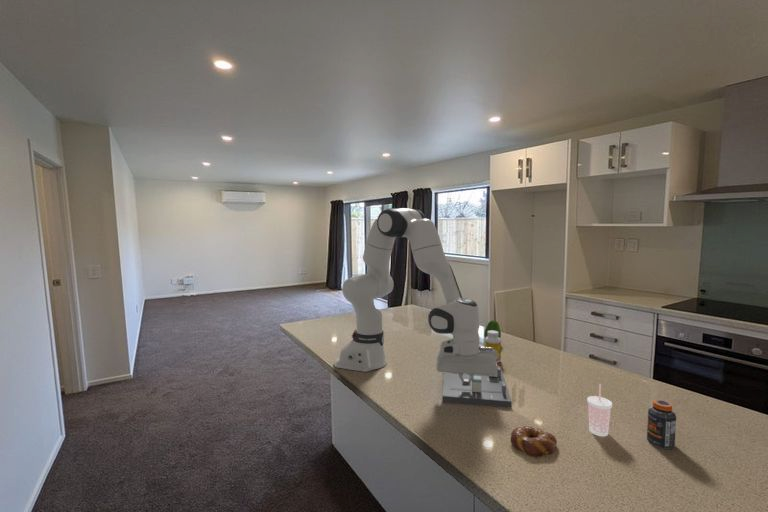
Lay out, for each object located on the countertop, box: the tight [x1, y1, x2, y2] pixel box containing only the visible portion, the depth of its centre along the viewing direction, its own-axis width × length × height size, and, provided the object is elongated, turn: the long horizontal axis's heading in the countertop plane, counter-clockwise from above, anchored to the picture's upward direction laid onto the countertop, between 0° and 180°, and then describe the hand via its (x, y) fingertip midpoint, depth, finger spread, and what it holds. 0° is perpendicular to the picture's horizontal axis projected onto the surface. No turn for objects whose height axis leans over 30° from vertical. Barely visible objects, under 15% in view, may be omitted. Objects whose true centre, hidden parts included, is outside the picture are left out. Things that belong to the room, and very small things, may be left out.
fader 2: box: [489, 363, 499, 377], centre depth 135 cm, size 3×4×4 cm
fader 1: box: [472, 376, 481, 392], centre depth 123 cm, size 3×4×4 cm
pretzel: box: [510, 425, 558, 458], centre depth 95 cm, size 12×11×4 cm
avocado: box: [483, 320, 502, 339], centre depth 177 cm, size 8×8×12 cm
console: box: [442, 366, 513, 408], centre depth 130 cm, size 22×26×5 cm
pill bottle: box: [646, 399, 677, 450], centre depth 95 cm, size 6×6×11 cm
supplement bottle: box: [484, 330, 502, 364], centre depth 155 cm, size 7×7×13 cm
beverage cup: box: [586, 383, 613, 437], centre depth 100 cm, size 6×6×14 cm
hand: (466, 385), depth 123 cm, fingers closed
